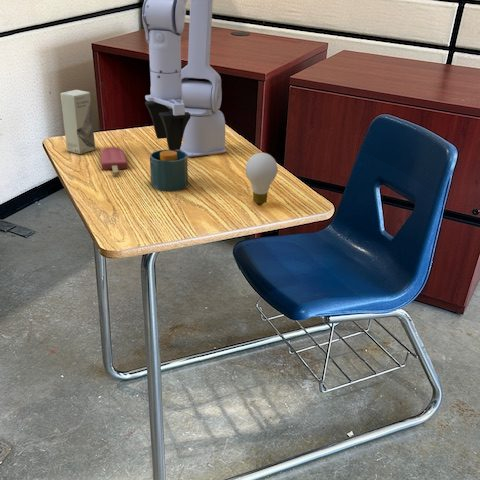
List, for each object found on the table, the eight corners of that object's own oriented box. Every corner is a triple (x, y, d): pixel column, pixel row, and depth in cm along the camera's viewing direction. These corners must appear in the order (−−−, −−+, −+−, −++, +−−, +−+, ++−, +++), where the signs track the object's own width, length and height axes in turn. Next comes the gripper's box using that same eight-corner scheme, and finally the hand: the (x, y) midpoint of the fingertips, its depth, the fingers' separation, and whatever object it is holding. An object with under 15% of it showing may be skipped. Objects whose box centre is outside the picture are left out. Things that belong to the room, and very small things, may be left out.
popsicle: (102, 170, 124) (99, 147, 137) (103, 177, 125) (99, 154, 137) (128, 168, 126) (122, 146, 138) (129, 175, 126) (123, 153, 139)
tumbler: (179, 175, 127) (179, 147, 124) (193, 187, 122) (193, 158, 119) (146, 180, 125) (144, 152, 121) (158, 193, 119) (157, 163, 116)
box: (80, 155, 136) (73, 96, 129) (66, 151, 138) (58, 93, 131) (96, 149, 140) (90, 91, 133) (82, 145, 142) (76, 88, 135)
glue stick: (170, 177, 125) (169, 149, 122) (181, 182, 123) (180, 153, 120) (157, 181, 123) (156, 152, 120) (169, 186, 121) (168, 156, 118)
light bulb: (239, 207, 114) (241, 155, 109) (250, 196, 119) (252, 146, 113) (269, 213, 113) (272, 160, 107) (278, 201, 117) (282, 151, 112)
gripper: (133, 63, 115) (138, 135, 123) (156, 80, 104) (160, 157, 112) (169, 61, 118) (171, 131, 125) (195, 77, 107) (195, 153, 114)
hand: (168, 143), depth 119 cm, fingers open, 7 cm apart
